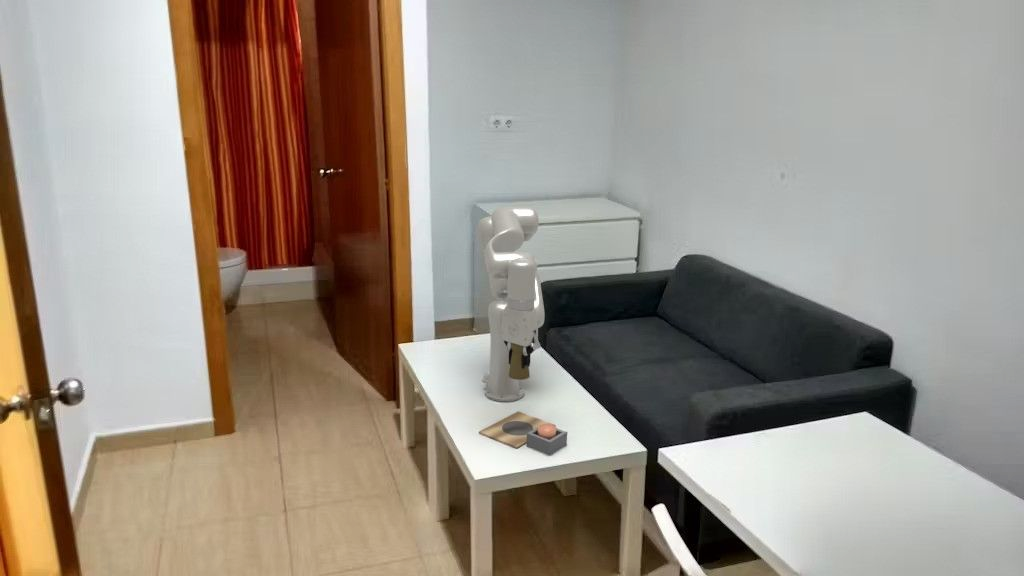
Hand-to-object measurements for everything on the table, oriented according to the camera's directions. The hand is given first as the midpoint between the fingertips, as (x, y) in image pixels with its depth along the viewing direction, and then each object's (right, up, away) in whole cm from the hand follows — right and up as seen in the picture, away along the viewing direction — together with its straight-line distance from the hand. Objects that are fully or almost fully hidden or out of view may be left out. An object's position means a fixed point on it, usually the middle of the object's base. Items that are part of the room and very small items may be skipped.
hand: (519, 364), depth 221 cm
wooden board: (0, -19, +6) cm, 20 cm away
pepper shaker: (0, -3, +1) cm, 3 cm away
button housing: (+8, -22, -3) cm, 24 cm away
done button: (+8, -20, -4) cm, 22 cm away
